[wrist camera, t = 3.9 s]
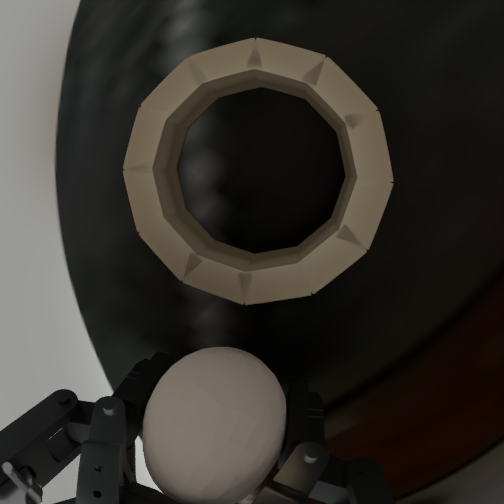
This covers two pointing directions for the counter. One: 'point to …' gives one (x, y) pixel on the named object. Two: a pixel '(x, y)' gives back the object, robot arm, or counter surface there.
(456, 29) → the counter surface
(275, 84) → the egg holder
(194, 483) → the egg
